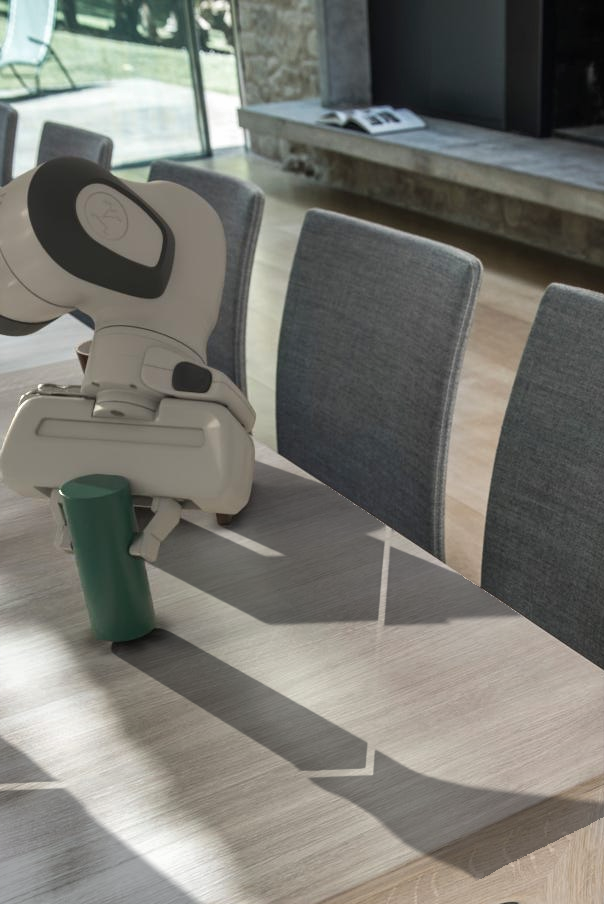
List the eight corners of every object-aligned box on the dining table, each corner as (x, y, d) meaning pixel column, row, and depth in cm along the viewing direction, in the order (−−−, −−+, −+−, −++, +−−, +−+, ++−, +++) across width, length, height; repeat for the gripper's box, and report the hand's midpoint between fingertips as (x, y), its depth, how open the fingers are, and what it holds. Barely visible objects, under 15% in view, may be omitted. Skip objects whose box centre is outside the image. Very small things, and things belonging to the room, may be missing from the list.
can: (85, 643, 90) (50, 499, 84) (101, 613, 94) (69, 474, 88) (149, 641, 90) (120, 497, 84) (162, 610, 94) (134, 471, 88)
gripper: (2, 362, 90) (-40, 529, 87) (245, 376, 85) (208, 551, 83) (47, 401, 96) (9, 557, 93) (275, 415, 92) (242, 580, 89)
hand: (104, 555), depth 88 cm, fingers closed on can, 5 cm apart
